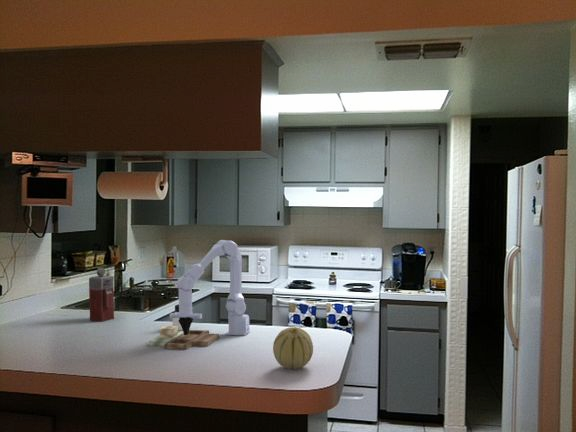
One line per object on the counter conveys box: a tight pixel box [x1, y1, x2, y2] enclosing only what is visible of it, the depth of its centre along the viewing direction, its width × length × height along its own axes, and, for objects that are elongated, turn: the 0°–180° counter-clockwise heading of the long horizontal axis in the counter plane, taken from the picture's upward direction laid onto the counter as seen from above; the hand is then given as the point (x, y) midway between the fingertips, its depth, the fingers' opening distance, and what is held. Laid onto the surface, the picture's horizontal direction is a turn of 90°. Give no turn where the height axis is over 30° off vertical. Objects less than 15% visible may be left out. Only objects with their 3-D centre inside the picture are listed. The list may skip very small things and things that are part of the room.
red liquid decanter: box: [88, 267, 115, 323], centre depth 281 cm, size 9×11×28 cm
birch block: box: [159, 325, 179, 338], centre depth 231 cm, size 6×6×4 cm
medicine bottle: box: [172, 303, 183, 331], centre depth 254 cm, size 7×7×12 cm
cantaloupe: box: [272, 326, 314, 370], centre depth 187 cm, size 15×15×15 cm
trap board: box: [148, 329, 220, 350], centre depth 229 cm, size 26×26×2 cm
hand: (186, 334), depth 229 cm, fingers closed
